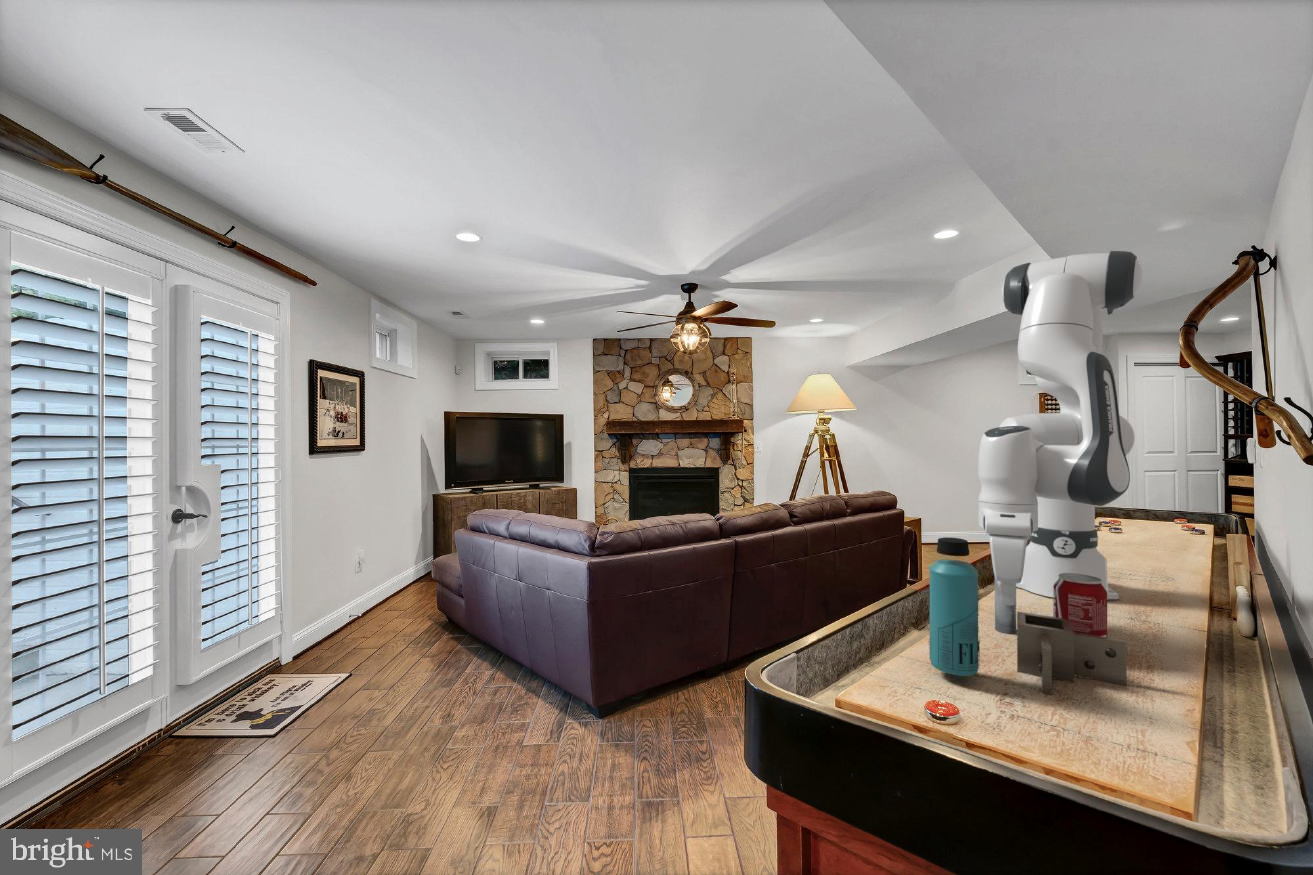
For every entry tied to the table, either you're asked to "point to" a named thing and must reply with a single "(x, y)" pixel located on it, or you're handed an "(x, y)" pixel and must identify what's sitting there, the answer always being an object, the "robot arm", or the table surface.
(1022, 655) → the grey metal bracket
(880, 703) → the table surface
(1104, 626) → the soda can
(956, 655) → the beverage bottle
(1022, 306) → the robot arm
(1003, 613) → the pin
